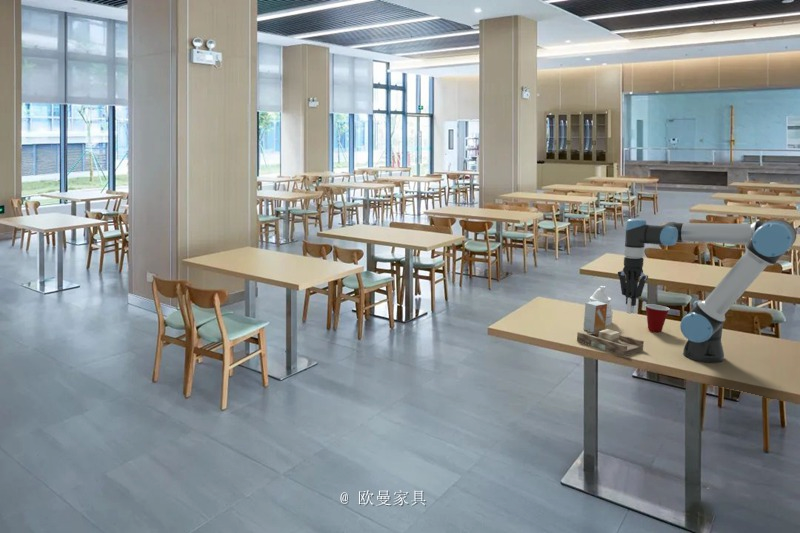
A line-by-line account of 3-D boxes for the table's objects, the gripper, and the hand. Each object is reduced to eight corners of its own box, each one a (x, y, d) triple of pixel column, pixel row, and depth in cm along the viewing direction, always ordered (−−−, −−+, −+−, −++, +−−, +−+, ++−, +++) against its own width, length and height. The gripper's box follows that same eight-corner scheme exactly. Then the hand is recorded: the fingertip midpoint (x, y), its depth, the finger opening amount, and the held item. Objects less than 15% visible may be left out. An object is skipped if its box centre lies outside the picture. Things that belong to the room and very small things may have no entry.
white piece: (616, 325, 307) (619, 288, 303) (591, 325, 305) (594, 288, 301) (604, 317, 319) (607, 282, 316) (580, 318, 317) (582, 282, 314)
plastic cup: (673, 333, 295) (675, 307, 293) (654, 335, 291) (657, 309, 289) (655, 326, 305) (658, 302, 302) (637, 328, 301) (640, 304, 298)
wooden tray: (642, 350, 270) (643, 341, 269) (624, 356, 262) (625, 346, 261) (595, 336, 288) (595, 327, 288) (576, 341, 281) (577, 332, 280)
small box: (593, 333, 293) (596, 305, 290) (582, 329, 298) (584, 302, 295) (605, 330, 297) (607, 303, 295) (594, 327, 302) (596, 300, 300)
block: (618, 341, 275) (619, 332, 274) (610, 343, 271) (611, 334, 270) (606, 337, 279) (607, 329, 279) (598, 340, 276) (599, 331, 275)
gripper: (653, 258, 258) (649, 314, 262) (625, 253, 268) (621, 308, 273) (643, 260, 254) (639, 317, 258) (614, 255, 264) (611, 311, 268)
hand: (630, 312), depth 265 cm, fingers closed
